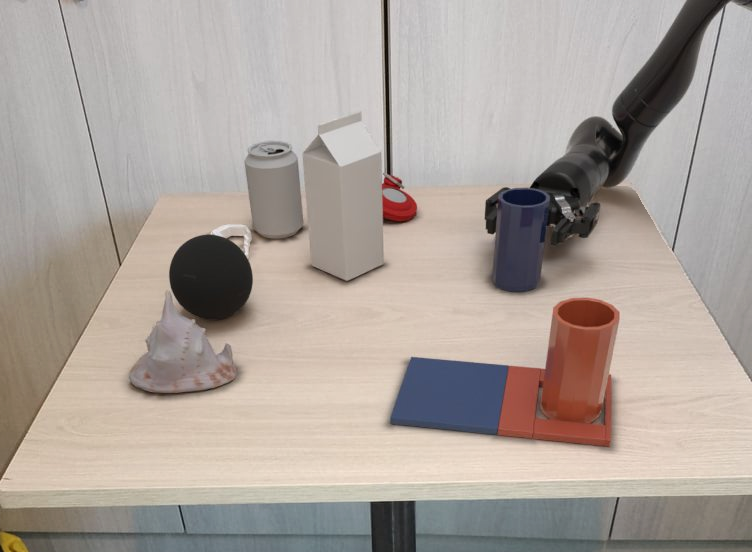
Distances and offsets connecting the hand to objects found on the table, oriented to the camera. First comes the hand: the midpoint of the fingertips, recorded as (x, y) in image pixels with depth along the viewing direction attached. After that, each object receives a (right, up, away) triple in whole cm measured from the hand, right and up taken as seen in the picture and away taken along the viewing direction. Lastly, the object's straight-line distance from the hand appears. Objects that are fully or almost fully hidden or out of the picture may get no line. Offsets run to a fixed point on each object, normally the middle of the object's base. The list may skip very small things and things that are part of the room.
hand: (521, 232), depth 102 cm
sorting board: (-5, -23, -16) cm, 29 cm away
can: (-33, +7, +19) cm, 38 cm away
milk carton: (-22, -2, +9) cm, 24 cm away
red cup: (+2, -24, -17) cm, 30 cm away
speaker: (-38, -10, 0) cm, 40 cm away
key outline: (-38, +3, +15) cm, 41 cm away
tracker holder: (-16, +11, +23) cm, 30 cm away
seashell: (-40, -19, -9) cm, 45 cm away
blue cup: (0, -5, +4) cm, 7 cm away
